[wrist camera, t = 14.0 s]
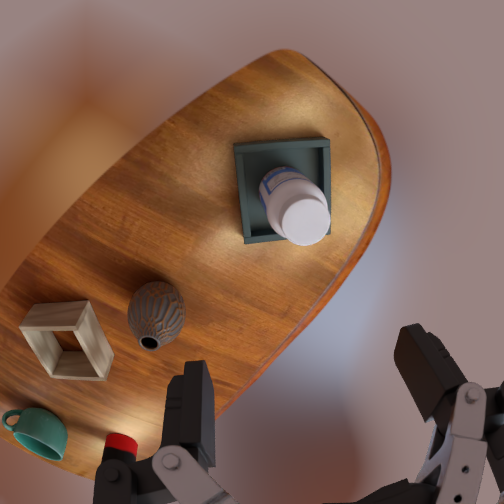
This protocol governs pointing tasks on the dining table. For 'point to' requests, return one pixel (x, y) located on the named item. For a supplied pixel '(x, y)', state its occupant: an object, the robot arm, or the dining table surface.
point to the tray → (270, 157)
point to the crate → (85, 329)
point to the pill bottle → (294, 206)
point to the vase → (156, 314)
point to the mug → (39, 432)
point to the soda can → (120, 448)
